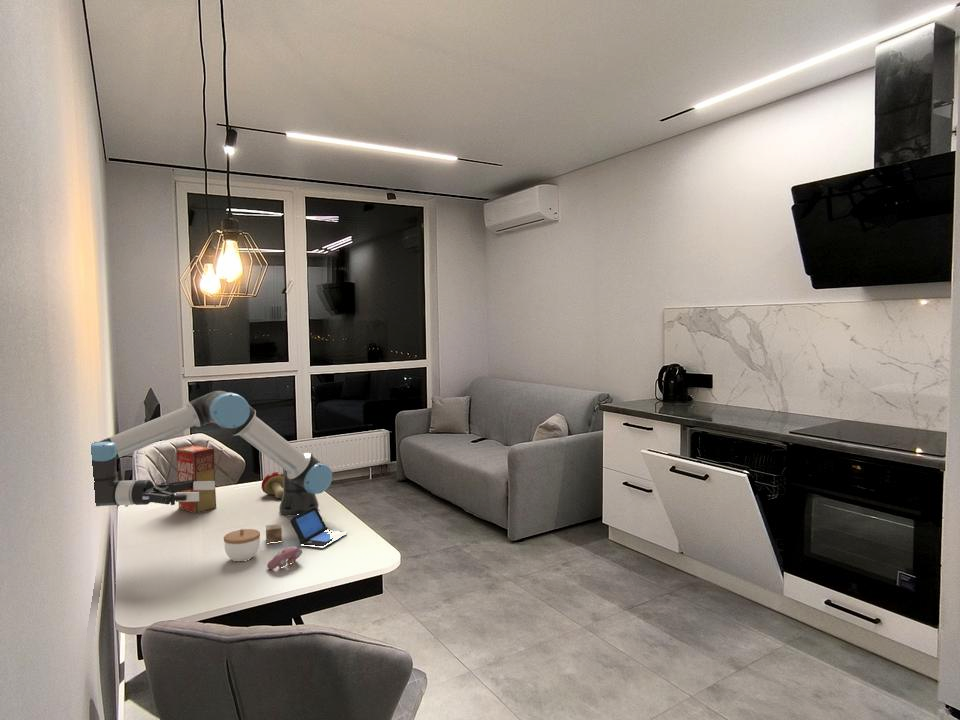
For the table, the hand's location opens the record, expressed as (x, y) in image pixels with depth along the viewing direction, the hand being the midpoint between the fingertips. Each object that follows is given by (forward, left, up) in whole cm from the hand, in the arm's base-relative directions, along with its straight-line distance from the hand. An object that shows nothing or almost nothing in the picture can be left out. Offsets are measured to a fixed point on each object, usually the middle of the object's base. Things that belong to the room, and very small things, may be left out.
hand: (207, 490), depth 184 cm
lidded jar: (-10, +2, -22) cm, 25 cm away
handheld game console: (-34, -6, -23) cm, 42 cm away
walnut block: (-20, -11, -22) cm, 32 cm away
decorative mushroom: (-21, -69, -23) cm, 76 cm away
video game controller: (-22, +14, -23) cm, 35 cm away
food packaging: (+9, -63, -22) cm, 67 cm away
